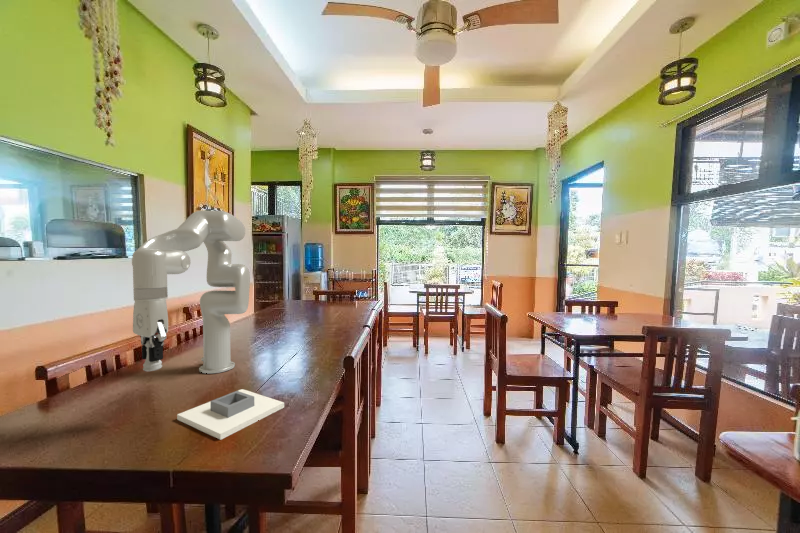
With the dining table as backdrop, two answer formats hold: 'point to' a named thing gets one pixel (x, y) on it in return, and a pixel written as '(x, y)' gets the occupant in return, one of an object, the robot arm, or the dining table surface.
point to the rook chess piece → (151, 365)
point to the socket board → (230, 413)
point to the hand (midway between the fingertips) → (152, 358)
